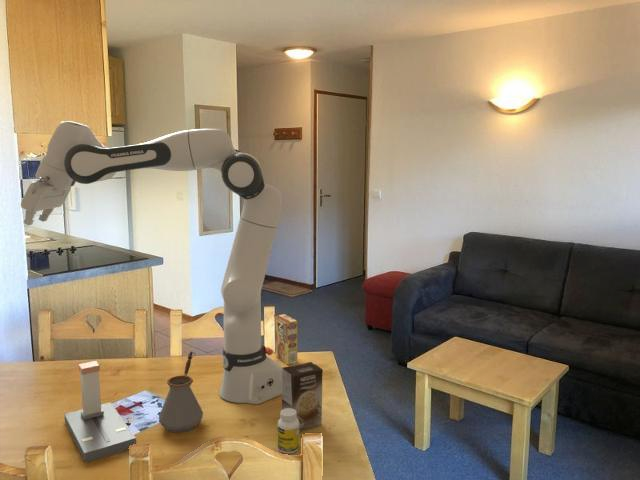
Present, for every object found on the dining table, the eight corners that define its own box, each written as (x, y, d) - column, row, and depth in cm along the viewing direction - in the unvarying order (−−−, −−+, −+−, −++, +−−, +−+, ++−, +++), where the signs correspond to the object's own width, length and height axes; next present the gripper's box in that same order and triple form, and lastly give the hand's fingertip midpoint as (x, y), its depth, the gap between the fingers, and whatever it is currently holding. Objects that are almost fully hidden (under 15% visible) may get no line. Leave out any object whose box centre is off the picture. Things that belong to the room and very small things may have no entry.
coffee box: (292, 434, 143) (292, 376, 140) (281, 423, 148) (280, 367, 145) (322, 425, 147) (323, 369, 144) (310, 415, 153) (310, 360, 150)
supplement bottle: (273, 451, 135) (273, 414, 133) (283, 440, 140) (283, 404, 138) (294, 456, 133) (294, 418, 131) (302, 445, 138) (302, 408, 136)
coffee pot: (198, 436, 141) (196, 382, 138) (153, 436, 141) (151, 381, 138) (213, 398, 162) (211, 350, 159) (174, 398, 162) (172, 350, 159)
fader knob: (100, 408, 149) (96, 360, 147) (104, 414, 146) (100, 365, 144) (80, 413, 147) (77, 364, 144) (84, 419, 143) (80, 369, 141)
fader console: (111, 410, 154) (110, 401, 154) (136, 447, 136) (135, 437, 135) (65, 422, 148) (64, 413, 147) (85, 463, 129) (84, 452, 129)
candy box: (298, 363, 189) (298, 320, 186) (287, 365, 186) (287, 322, 184) (285, 354, 196) (285, 313, 193) (274, 357, 194) (274, 315, 191)
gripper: (50, 182, 139) (29, 231, 141) (78, 180, 160) (60, 223, 161) (26, 172, 139) (5, 221, 140) (57, 171, 159) (39, 214, 160)
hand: (35, 222), depth 150 cm, fingers open, 8 cm apart
